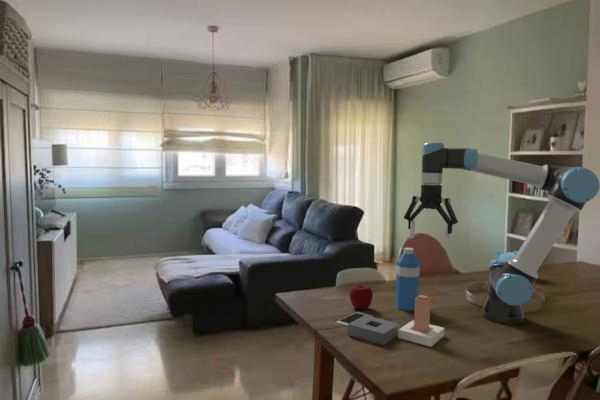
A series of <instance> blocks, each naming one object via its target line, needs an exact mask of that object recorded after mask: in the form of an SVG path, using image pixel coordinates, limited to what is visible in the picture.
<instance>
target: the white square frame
mask: <svg viewBox="0 0 600 400" xmlns="http://www.w3.org/2000/svg"><path fill="white" fill-rule="evenodd" d="M444 337H445V327H442V326H438V325H433V324H430V323H429V332H428V333H427V334H426V333H422V332H418V331H414V319H413V320H411V321H409V322H408V323H406V324H404V325H403V326H402V327H401V326H400V327H399V329H398V336H397V338H398V339H400V340H405V341H408V342H412V343H416V344H419V345H422V346H427V347H431V348H432V347H433V346H434V345H435V344H436V343H437V342H439V341H441V339H443V338H444Z"/></svg>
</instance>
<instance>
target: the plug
mask: <svg viewBox="0 0 600 400" xmlns="http://www.w3.org/2000/svg"><path fill="white" fill-rule="evenodd" d="M413 313H414V314H413V315H414V317H413V320H414V331H418V332H422V333H426V334H427V333H428V332H429V324H430V319H431V317H430V315H431V297H429V295H428V296H427V295H423V294H419V296H418V297H417V298H415V310H414V312H413Z"/></svg>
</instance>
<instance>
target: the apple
mask: <svg viewBox="0 0 600 400" xmlns="http://www.w3.org/2000/svg"><path fill="white" fill-rule="evenodd" d="M373 294H374V293H373V289H372V288H371V286H369V285H368V284H361V283H359V284H354V285H353V286H352V287H350V291H349V300H350V303H351V305H352V306H353V308H355V309H358V310H362V311H363V310H367V309H369V307H370V306H371V303H372V301H373Z"/></svg>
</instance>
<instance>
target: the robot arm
mask: <svg viewBox="0 0 600 400" xmlns="http://www.w3.org/2000/svg"><path fill="white" fill-rule="evenodd" d="M421 154H422V155H421V181H420V183H422V184H421V185H420V196H419V195H413V196H412V198H411V203H409V206H408V209H407V211H406V212H405V214H404V216H403V219H404V220H407V222H408V224H407V225H408V230H409V239H414V238H415V237H416V220H415V219H416V218H417V217H418V216H419V214H420V213H421V212H422V211H423V210H424V209H426V210H428V209H430V210H436V211H437V212H438V213H439V215H440V216H441V218H442V219H443V220H444V221H445V223H446V224H445V227H444V243H445V244H447V243H449V242H450V235H451V234H452V233H453V225H455V224H458V223H459V221H458V219H457V216H456V214H455V211H454V209H453V207H452V205H451V199H450V197H445V198H443V197H442V194H443V191H442V190H443V185H442V183H443V169H454V170H455V169H456V170H464V171H469V172H474V173H478V174H483V175H486V176H487V175H488V176H492V177H494V178H495V177H497V178H499V179H500V178H501V179H504V180H509V181H514V182H517V183H518V182H519V183H522V184H523V183H524V184H526V185H530V186H535V187H536V188H537V189H538V190H542V191H544V192H545V191H546V192H548V194H547V198H548V203H547V204H546V205H545V207H544V209H543V211H541V214H540V216H539V217H538V219H537V220H536V222H535V224H534V225H533V227H532V228H531V230H530V232H529V233H528V235H527V236H526V238H525V240H524V241H523V243H522V244H521V246H520V247H519V249H518V250H517V251H518V252H517V254H516V256H515V257H514V258H513V259H510V260H498V259H491V260H490V261H489V266H488V269H489V270H488V271H489V272H488V285H487V286H488V289H487V298H486V299H485V302H484V305H483V307H482V311H481V313H482V314H481V315H482V317H483V318H485V319H487V320H489V321H492V322H495V323H499V324H506V325H507V324H508V325H509V324H510V325H511V324H512V325H513V324H515V325H516V324H521V323H522V322H524V316H525V314H524V311H523V310H524V309H523V307H522V305H523V304H526V303H527V302H528V301H530V299H531V298H532V296H533V291H534V289H533V286H534V285H535V283H536V282H537V280H538V278H539V275H538V270H539V269H540V267H541V265H542V264H543V262H544V260H545V259H546V257H547V256H548V254H549V252H550V251H551V250H552V248H553V246H554V244H555V243H556V241H557V240H558V239H559V237H560V235H561V234H562V232H563V231H564V229H565V228H566V226H567V224H568V222H569V221H570V220H571V217H573V215H574V214H576V213H577V212H581V211H582V209H583V208H584V207H585V205H586V203H587V202H589V201H591V200H593V199H594V198H595V197H596V196H597V195H598V193H599V191H600V181H599V177H598V176H597V174H596V173H594V172H593V171H592V170H590V169H588V168H587V167H586V168H585V167H583V166H568V165H567V166H563V165H562V166H561V165H559V166H558V165H557V166H556V165H550V164H544V165H542V166H541V165H537V164H532V163H528V162H523V161H519V160H514V159H509V158H504V157H500V156H495V155H490V154H487V153H482V152H478V149H477V148H470V147H467V148H466V147H465V148H463V147H461V148H459V147H457V148H455V147H454V148H449V147H445V144H444V143H443V142H425V143H423V146H422V153H421ZM418 202H420V203H421V204H420V205H419V206H418V207H417V208H416V205H417V204H418ZM442 204H443V205H444V206H445V209H446V211H447V212H446V211H445V210H444V207H443V206H442ZM415 208H416V210H415ZM414 210H415V211H414ZM447 213H448V214H447Z"/></svg>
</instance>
